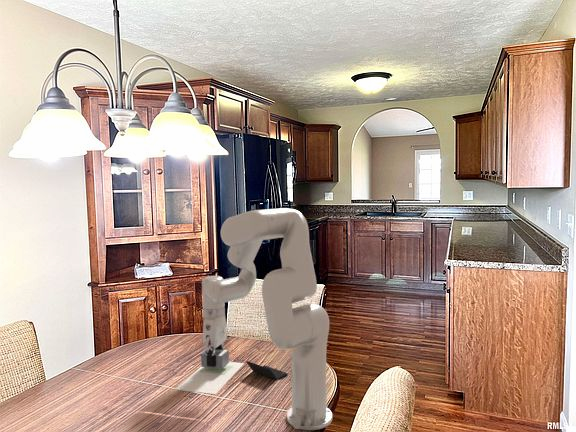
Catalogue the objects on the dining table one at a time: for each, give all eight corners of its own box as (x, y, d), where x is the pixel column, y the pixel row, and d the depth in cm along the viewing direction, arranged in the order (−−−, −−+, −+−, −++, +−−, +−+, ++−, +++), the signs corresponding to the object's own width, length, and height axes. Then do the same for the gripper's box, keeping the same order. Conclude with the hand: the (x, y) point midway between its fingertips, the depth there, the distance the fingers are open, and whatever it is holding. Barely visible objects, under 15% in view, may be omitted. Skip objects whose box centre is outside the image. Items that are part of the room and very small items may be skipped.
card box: (201, 366, 150) (200, 354, 150) (208, 360, 155) (208, 348, 155) (222, 368, 148) (222, 356, 148) (229, 362, 153) (228, 350, 153)
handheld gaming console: (290, 368, 148) (277, 351, 143) (283, 388, 143) (270, 371, 138) (263, 366, 154) (249, 350, 149) (255, 385, 150) (241, 369, 144)
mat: (215, 395, 133) (215, 393, 133) (175, 390, 137) (175, 388, 137) (244, 364, 156) (244, 363, 156) (208, 360, 160) (208, 359, 160)
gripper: (213, 320, 141) (214, 374, 142) (233, 305, 157) (234, 354, 159) (192, 318, 143) (194, 371, 144) (214, 304, 160) (216, 352, 161)
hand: (215, 362), depth 151 cm, fingers closed on card box, 5 cm apart
